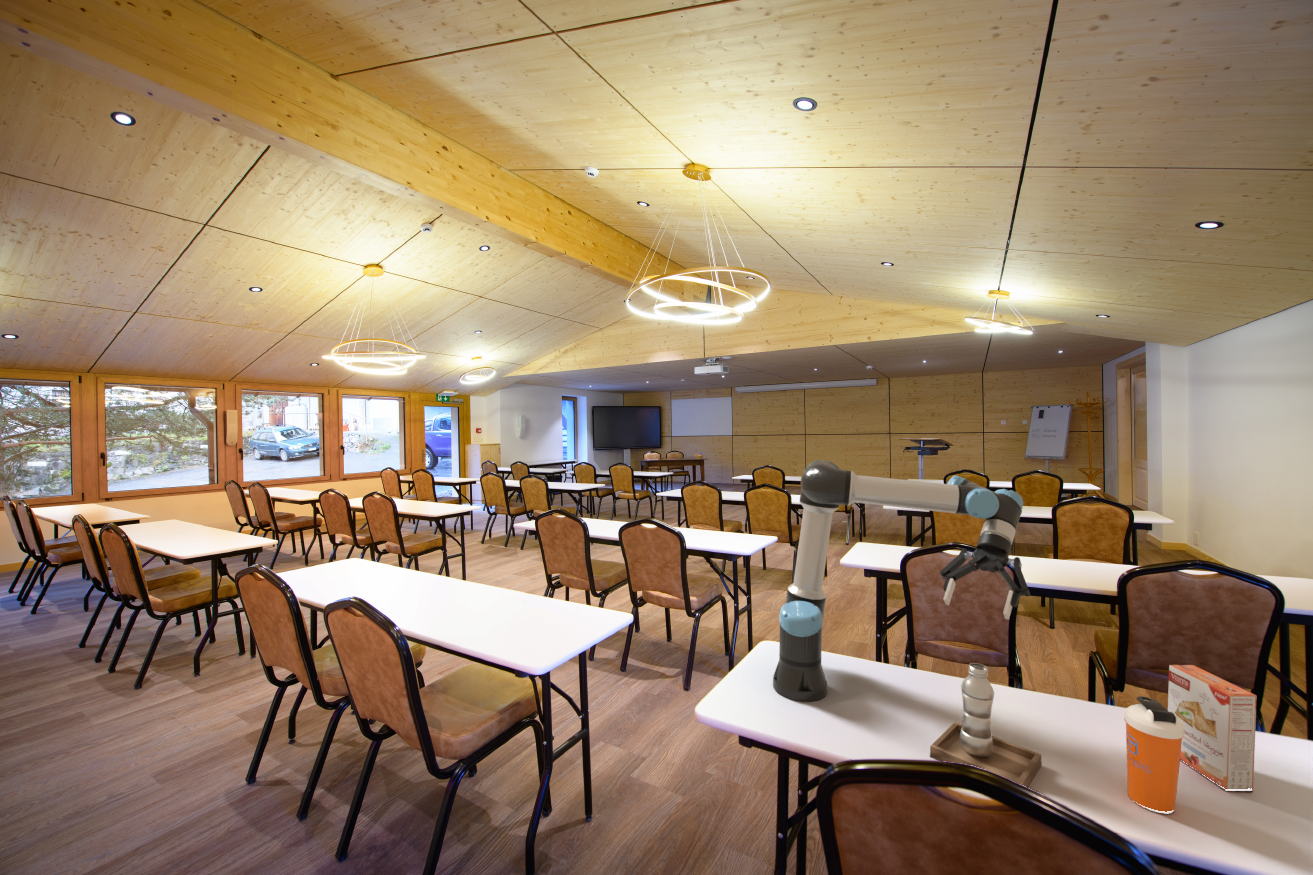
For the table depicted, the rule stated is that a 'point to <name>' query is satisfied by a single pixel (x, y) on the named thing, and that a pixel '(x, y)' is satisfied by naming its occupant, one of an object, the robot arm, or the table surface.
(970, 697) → the plastic bottle
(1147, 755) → the shaker bottle
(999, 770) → the walnut tray
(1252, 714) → the cracker box
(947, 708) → the table surface
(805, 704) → the table surface
